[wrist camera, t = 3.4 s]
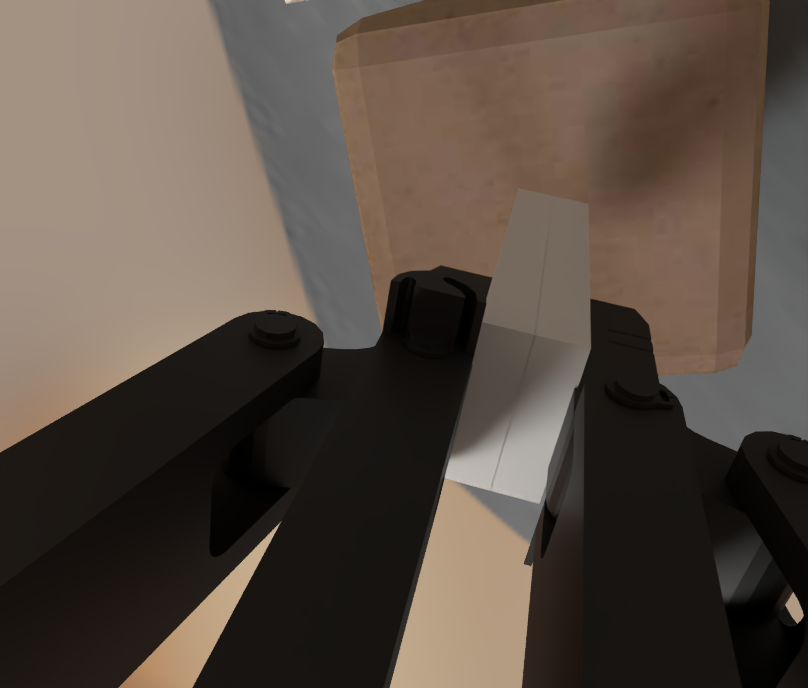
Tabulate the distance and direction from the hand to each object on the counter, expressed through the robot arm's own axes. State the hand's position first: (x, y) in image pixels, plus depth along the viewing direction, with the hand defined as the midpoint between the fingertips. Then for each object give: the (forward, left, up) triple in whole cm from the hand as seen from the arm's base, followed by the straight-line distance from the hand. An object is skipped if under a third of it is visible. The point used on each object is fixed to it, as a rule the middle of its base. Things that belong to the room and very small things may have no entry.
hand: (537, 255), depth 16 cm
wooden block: (0, 0, -23) cm, 23 cm away
